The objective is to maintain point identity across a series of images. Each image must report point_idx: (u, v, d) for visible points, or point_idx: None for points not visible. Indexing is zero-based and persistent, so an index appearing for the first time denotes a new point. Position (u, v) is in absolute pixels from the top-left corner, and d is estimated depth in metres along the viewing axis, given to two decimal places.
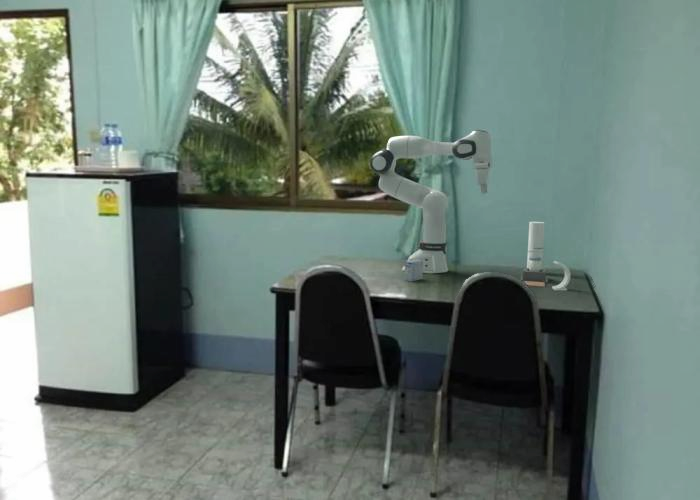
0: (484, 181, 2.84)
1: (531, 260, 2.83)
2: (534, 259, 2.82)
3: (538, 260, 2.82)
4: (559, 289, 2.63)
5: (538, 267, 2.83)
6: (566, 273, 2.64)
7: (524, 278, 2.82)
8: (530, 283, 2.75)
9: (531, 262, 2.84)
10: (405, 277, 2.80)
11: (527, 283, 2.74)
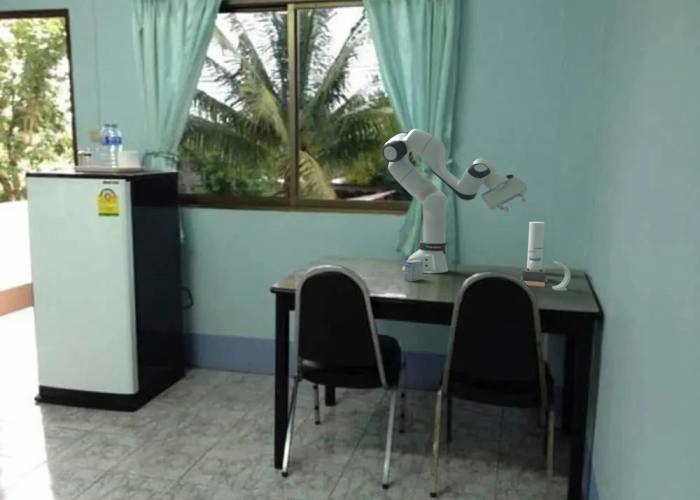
0: None
1: (531, 260, 2.83)
2: (534, 259, 2.82)
3: (538, 260, 2.82)
4: (559, 289, 2.63)
5: (538, 267, 2.83)
6: (566, 273, 2.64)
7: (524, 278, 2.82)
8: (530, 283, 2.75)
9: (531, 262, 2.84)
10: (405, 277, 2.80)
11: (527, 283, 2.74)
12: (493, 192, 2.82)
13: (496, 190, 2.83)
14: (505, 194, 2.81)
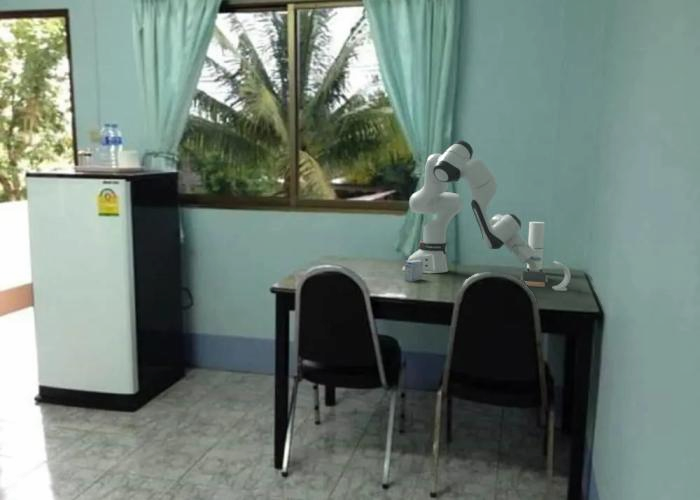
0: None
1: (531, 260, 2.83)
2: (534, 259, 2.82)
3: (538, 260, 2.82)
4: (559, 289, 2.63)
5: (538, 267, 2.83)
6: (566, 273, 2.64)
7: (524, 278, 2.82)
8: (530, 283, 2.75)
9: None
10: (405, 277, 2.80)
11: (527, 283, 2.74)
12: (521, 247, 2.82)
13: (521, 246, 2.84)
14: (528, 252, 2.85)
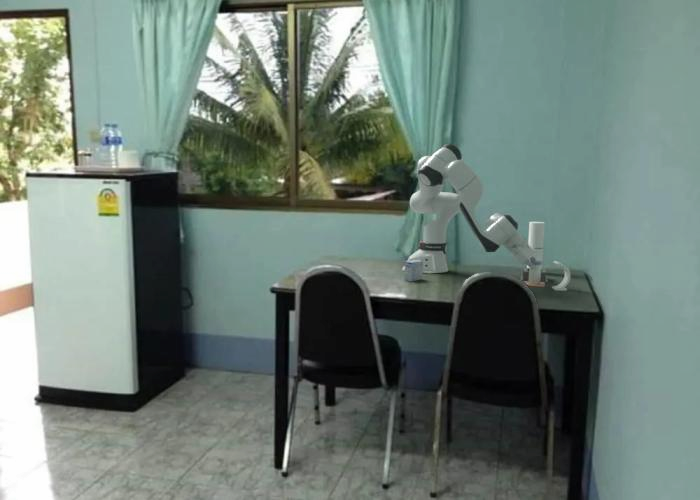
0: None
1: None
2: (534, 263, 2.71)
3: (538, 264, 2.71)
4: (559, 289, 2.63)
5: (538, 271, 2.72)
6: (566, 273, 2.64)
7: (524, 278, 2.82)
8: None
9: None
10: (405, 277, 2.80)
11: (527, 283, 2.74)
12: (520, 247, 2.70)
13: (521, 246, 2.72)
14: (528, 252, 2.73)
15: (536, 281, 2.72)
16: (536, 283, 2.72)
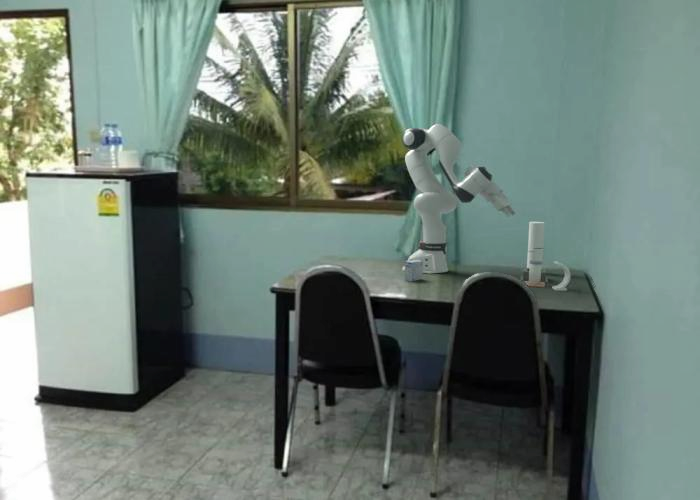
0: None
1: (531, 264, 2.72)
2: (534, 263, 2.71)
3: (539, 264, 2.71)
4: (559, 289, 2.63)
5: (538, 271, 2.72)
6: (566, 273, 2.64)
7: (524, 278, 2.82)
8: None
9: (531, 266, 2.72)
10: (405, 277, 2.80)
11: (527, 283, 2.74)
12: (497, 196, 2.85)
13: (497, 195, 2.86)
14: (504, 201, 2.88)
15: (536, 281, 2.72)
16: (536, 283, 2.72)
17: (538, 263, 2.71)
